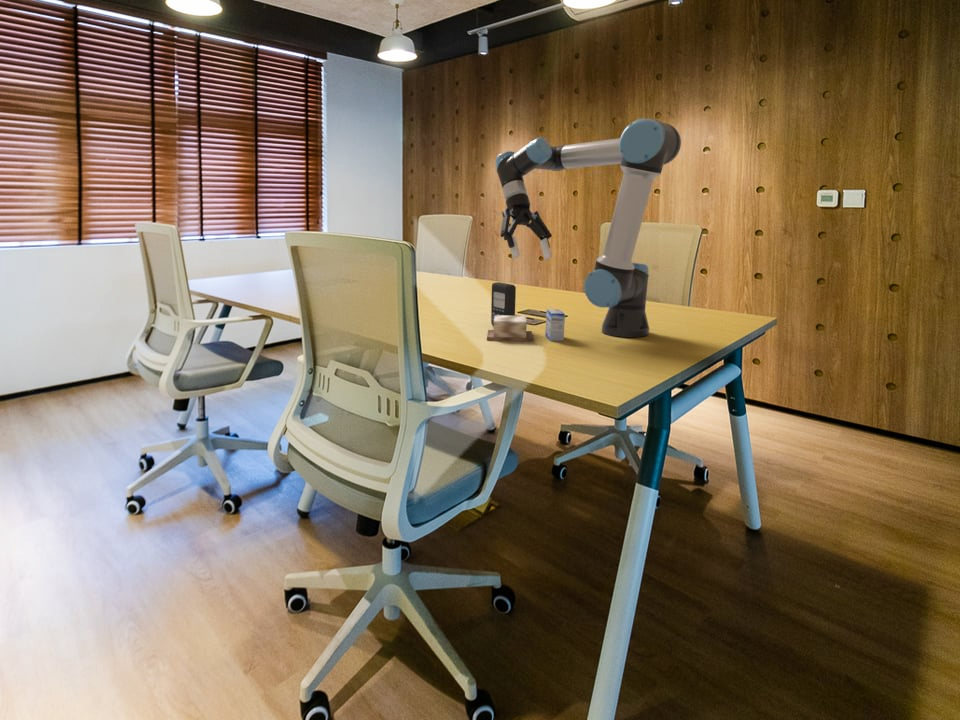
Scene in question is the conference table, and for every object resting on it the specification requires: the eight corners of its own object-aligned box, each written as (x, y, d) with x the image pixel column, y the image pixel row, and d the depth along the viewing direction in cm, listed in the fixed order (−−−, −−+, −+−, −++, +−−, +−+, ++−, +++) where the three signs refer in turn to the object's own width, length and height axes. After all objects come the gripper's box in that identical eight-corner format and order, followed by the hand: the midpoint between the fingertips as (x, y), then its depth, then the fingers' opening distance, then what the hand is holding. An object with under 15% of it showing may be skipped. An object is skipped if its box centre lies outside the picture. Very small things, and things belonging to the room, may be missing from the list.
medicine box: (544, 335, 194) (546, 309, 191) (558, 335, 194) (559, 309, 192) (549, 341, 186) (550, 313, 184) (563, 341, 186) (565, 313, 184)
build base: (531, 334, 196) (532, 315, 194) (532, 341, 185) (533, 322, 184) (488, 332, 196) (488, 314, 195) (486, 340, 186) (487, 321, 184)
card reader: (489, 326, 207) (490, 282, 203) (498, 324, 210) (499, 281, 206) (506, 330, 200) (507, 285, 196) (515, 329, 202) (516, 284, 199)
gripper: (537, 206, 209) (553, 263, 204) (479, 200, 194) (495, 261, 190) (551, 195, 203) (568, 253, 199) (493, 188, 188) (509, 250, 184)
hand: (532, 257), depth 194 cm, fingers open, 13 cm apart
